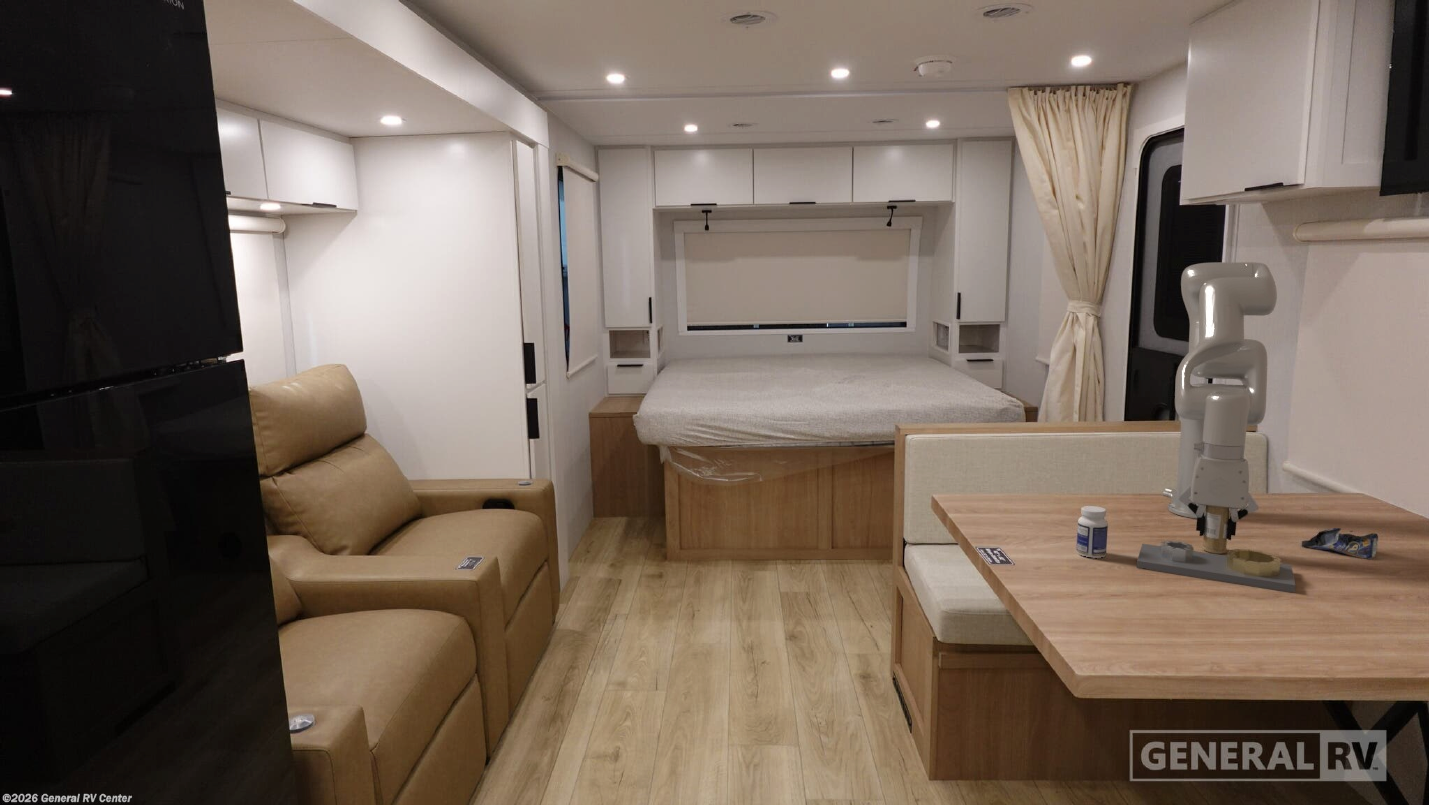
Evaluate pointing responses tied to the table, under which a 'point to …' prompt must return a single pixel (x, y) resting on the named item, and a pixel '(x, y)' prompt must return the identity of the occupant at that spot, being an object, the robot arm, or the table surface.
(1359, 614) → the table surface
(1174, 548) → the steel collar
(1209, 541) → the sprinkles bottle
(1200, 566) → the mounting board
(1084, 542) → the pill bottle
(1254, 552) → the brass collar
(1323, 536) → the snack package
